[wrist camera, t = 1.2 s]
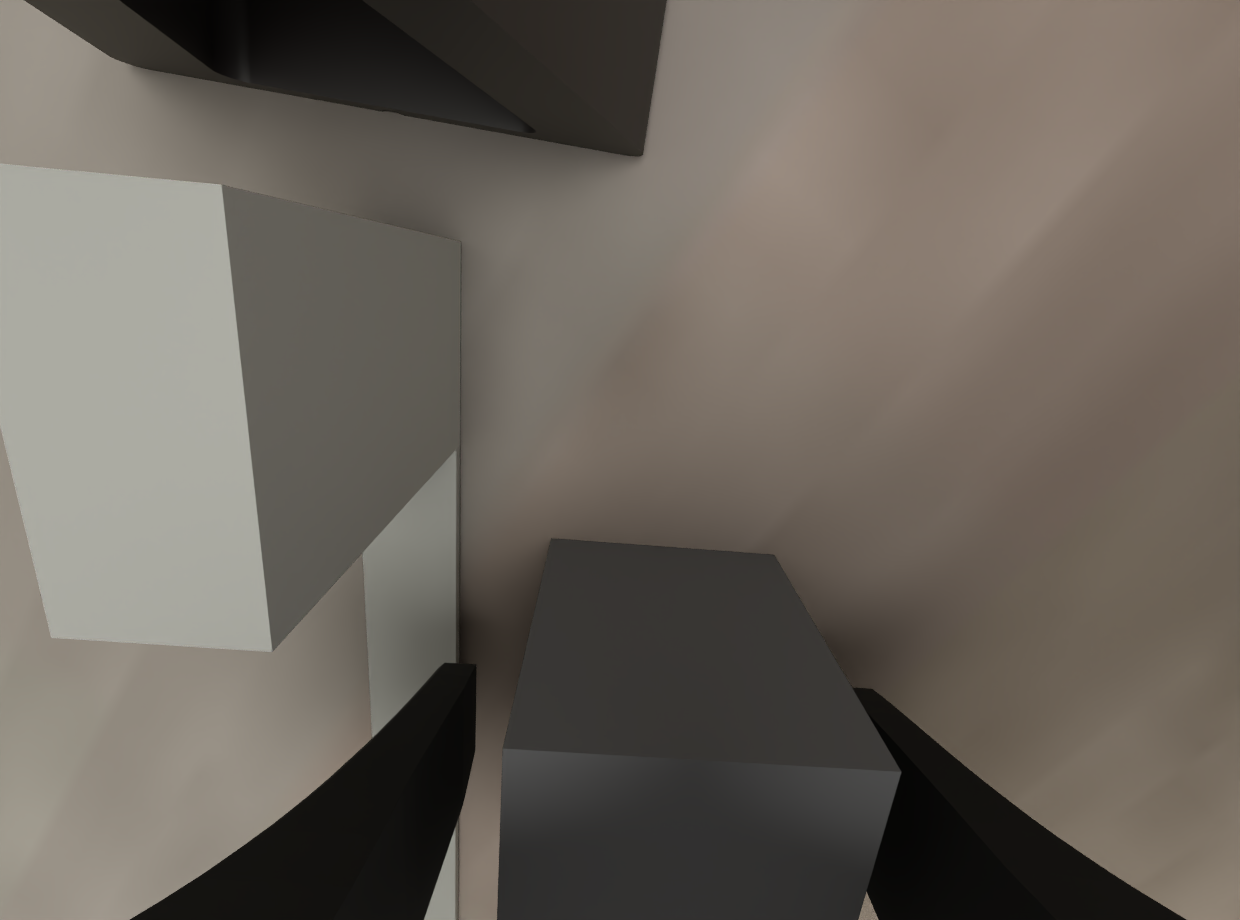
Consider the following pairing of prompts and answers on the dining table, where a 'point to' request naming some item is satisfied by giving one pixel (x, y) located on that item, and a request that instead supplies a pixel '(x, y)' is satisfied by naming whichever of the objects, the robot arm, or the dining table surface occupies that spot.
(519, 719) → the dark grey block
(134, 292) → the grey u-shaped bar
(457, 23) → the phone stand
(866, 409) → the dining table surface
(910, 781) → the robot arm
